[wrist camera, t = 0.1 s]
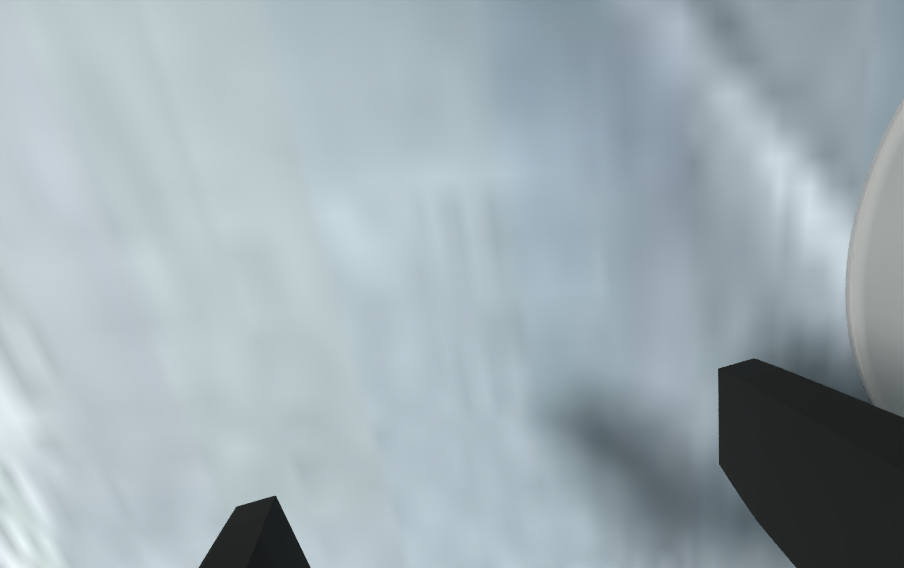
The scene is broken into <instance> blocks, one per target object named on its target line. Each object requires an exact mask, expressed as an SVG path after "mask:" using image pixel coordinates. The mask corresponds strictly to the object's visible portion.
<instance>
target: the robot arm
mask: <svg viewBox="0 0 904 568" xmlns="http://www.w3.org/2000/svg"><path fill="white" fill-rule="evenodd" d="M718 390H719V465H720V466H721V468H722V469H723V471H724V472H725V474H726V475H727V477H728V479H729V480H730V482H731V483H732V485H733V486H734V488H735V489H736V491H737V492H738V494H739V495H740V497H741V498H742V500H743V501H744V503H745V504H746V506H747V507H748V508H749V510H750V511H751V513H752V514H753V516H754V517H755V519H756V520H757V521H758V523H759V524H760V525H761V526H762V527H763V529H764V530H765V531H766V532H767V534H768V535H769V536H770V537H771V538H772V539H773V541H774V542H775V543H776V544H777V545H778V547H779V548H780V549H781V550H782V551H783V553H784V554H785V555H786V556H787V557H788V558H789V560H790V561H791V562H792V563H793V564H794V566H795V567H796V568H904V417H901V416H899V415H896V414H894V413H891V412H889V411H886V410H883V409H881V408H878V407H876V406H873V405H871V404H868V403H866V402H863V401H861V400H858V399H856V398H854V397H851V396H849V395H846V394H844V393H841V392H839V391H836V390H834V389H831V388H829V387H826V386H824V385H822V384H819V383H817V382H814V381H812V380H809V379H807V378H804V377H802V376H799V375H797V374H794V373H792V372H789V371H787V370H784V369H782V368H779V367H776V366H774V365H771V364H768V363H766V362H763V361H760V360H757V359H750V360H747V361H743V362H740V363H736V364H733V365H729V366H726V367H722V368H719V369H718ZM199 568H310V566H309V564H308V562H307V560H306V557H305V555H304V553H303V551H302V549H301V547H300V545H299V543H298V541H297V539H296V537H295V535H294V532H293V530H292V528H291V526H290V524H289V522H288V520H287V518H286V516H285V514H284V512H283V510H282V508H281V505H280V503H279V501H278V499H277V497H276V496H272V497H269V498H265V499H262V500H258V501H255V502H251V503H248V504H244V505H241V506H237V507H236V508H235V510H234V511H233V513H232V515H231V516H230V518H229V519H228V521H227V523H226V524H225V526H224V527H223V529H222V531H221V532H220V534H219V535H218V537H217V539H216V540H215V542H214V544H213V545H212V547H211V548H210V550H209V552H208V553H207V555H206V557H205V558H204V560H203V562H202V563H201V565H200V566H199Z"/></svg>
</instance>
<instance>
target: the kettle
mask: <svg viewBox="0 0 904 568" xmlns="http://www.w3.org/2000/svg"><path fill="white" fill-rule="evenodd" d="M845 297H846V317H847V326H848V333H849V339H850V345H851V349H852V353H853V357H854V361H855V364H856V368H857V370H858V373H859V376H860V379H861V381H862V384H863V386H864V388H865V390H866V393H867V395H868V397H869V399H870V400H871V402H872V404H873V406H876V407H878V408H881V409H883V410H886V411H889V412H891V413H894V414H896V415H899V416H901V417H904V98H903V100H902V101H901V103H900V105H899V107H898V108H897V110H896V112H895V114H894V116H893V118H892V119H891V121H890V123H889V125H888V127H887V129H886V131H885V133H884V135H883V138H882V140H881V142H880V144H879V146H878V149H877V151H876V153H875V156H874V158H873V161H872V163H871V166H870V168H869V171H868V174H867V177H866V180H865V182H864V185H863V189H862V192H861V195H860V198H859V202H858V206H857V210H856V213H855V217H854V222H853V227H852V231H851V237H850V243H849V249H848V258H847V268H846V287H845Z"/></svg>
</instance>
